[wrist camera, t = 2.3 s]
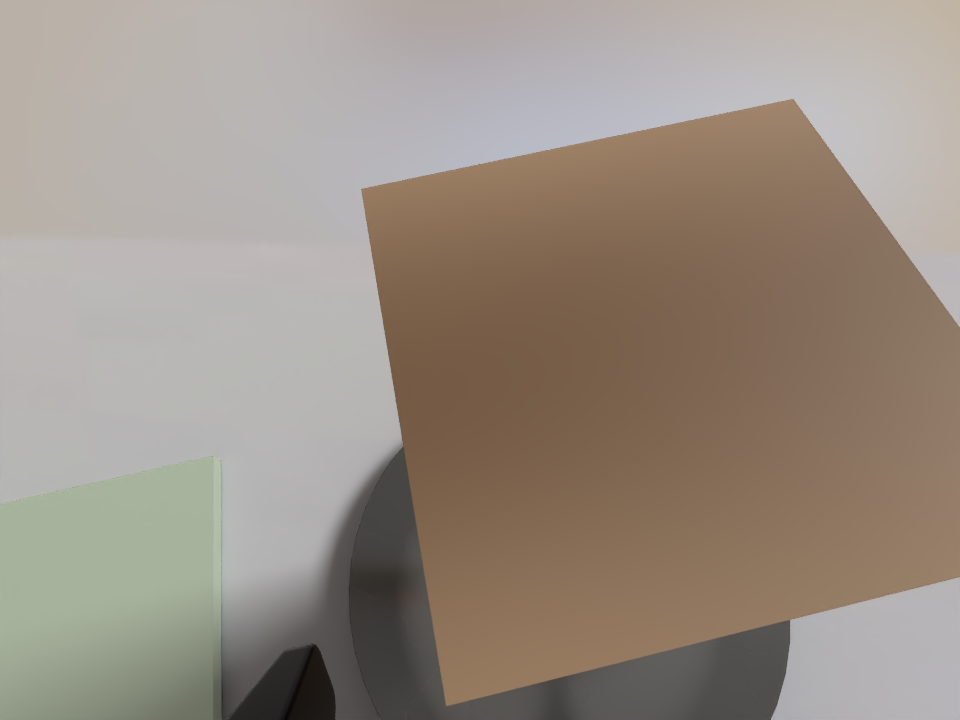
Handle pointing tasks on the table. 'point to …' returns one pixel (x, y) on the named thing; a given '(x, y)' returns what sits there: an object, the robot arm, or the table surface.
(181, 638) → the rubber mat
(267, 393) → the table surface
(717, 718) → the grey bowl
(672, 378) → the walnut block
